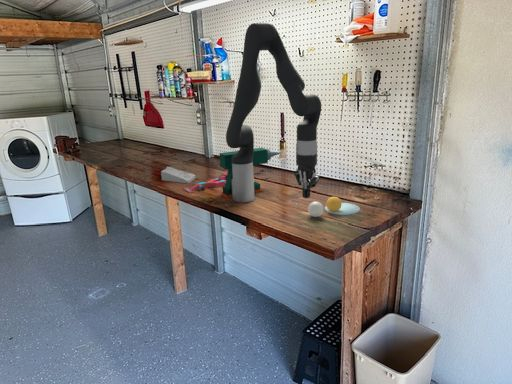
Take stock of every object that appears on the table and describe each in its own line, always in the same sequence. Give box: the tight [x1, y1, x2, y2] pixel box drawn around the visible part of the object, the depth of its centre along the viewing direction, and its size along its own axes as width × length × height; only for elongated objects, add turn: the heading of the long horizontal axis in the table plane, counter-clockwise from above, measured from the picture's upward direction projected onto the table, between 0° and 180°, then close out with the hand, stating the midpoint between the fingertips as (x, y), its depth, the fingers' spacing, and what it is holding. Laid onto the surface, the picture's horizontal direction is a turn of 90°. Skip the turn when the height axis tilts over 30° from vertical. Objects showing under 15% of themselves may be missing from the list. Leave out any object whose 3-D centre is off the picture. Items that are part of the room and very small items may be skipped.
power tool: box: [218, 147, 281, 199], centre depth 181 cm, size 32×7×20 cm, turn 115°
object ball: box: [325, 196, 343, 212], centre depth 150 cm, size 6×6×6 cm
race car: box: [182, 170, 228, 194], centre depth 194 cm, size 14×6×25 cm
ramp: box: [160, 166, 196, 184], centre depth 213 cm, size 28×16×5 cm, turn 38°
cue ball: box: [307, 201, 325, 218], centre depth 146 cm, size 6×6×6 cm
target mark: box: [324, 202, 361, 216], centre depth 153 cm, size 14×14×1 cm
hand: (306, 197), depth 141 cm, fingers closed
